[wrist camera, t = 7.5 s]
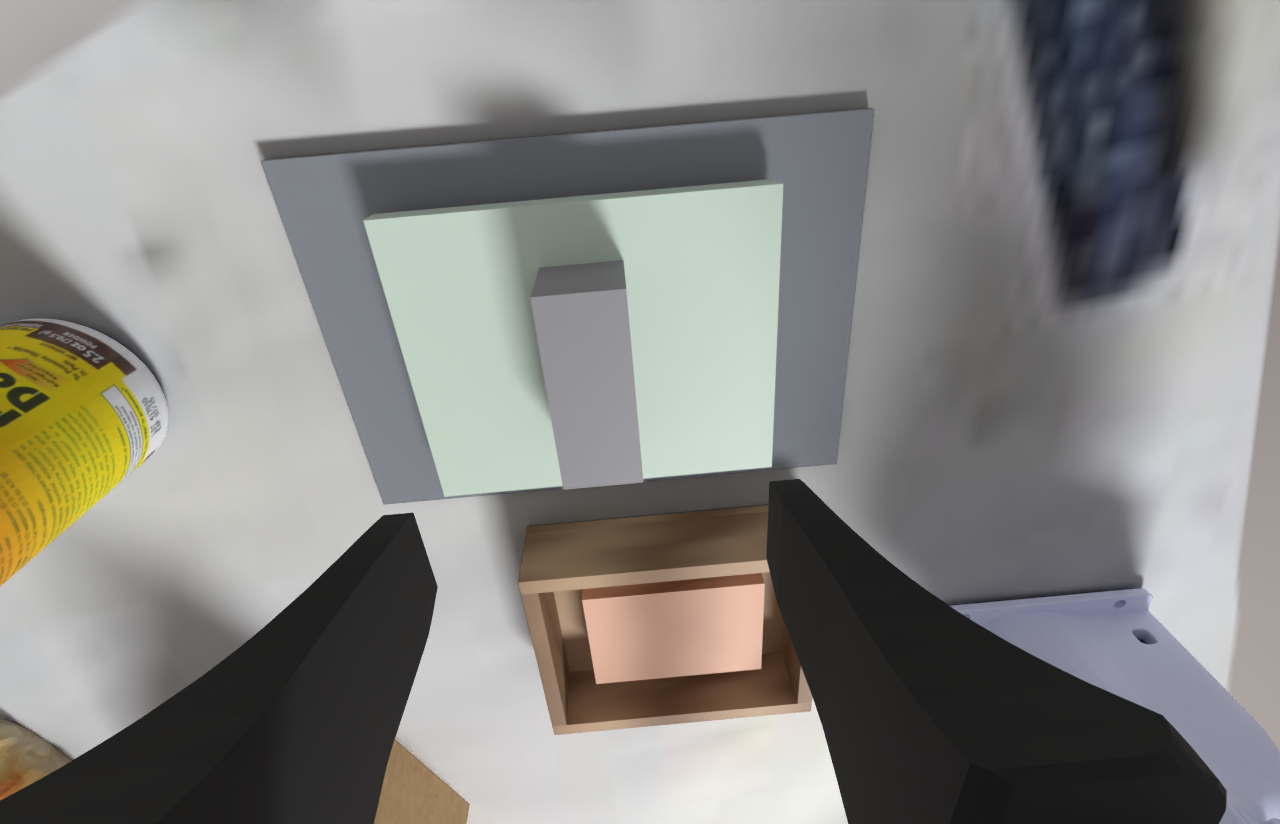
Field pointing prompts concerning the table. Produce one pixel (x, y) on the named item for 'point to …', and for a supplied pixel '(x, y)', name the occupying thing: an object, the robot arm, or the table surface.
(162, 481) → the table surface
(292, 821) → the robot arm
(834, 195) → the slate mat
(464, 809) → the sandwich container
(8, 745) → the pastry
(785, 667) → the walnut box
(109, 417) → the supplement bottle
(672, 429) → the lid
